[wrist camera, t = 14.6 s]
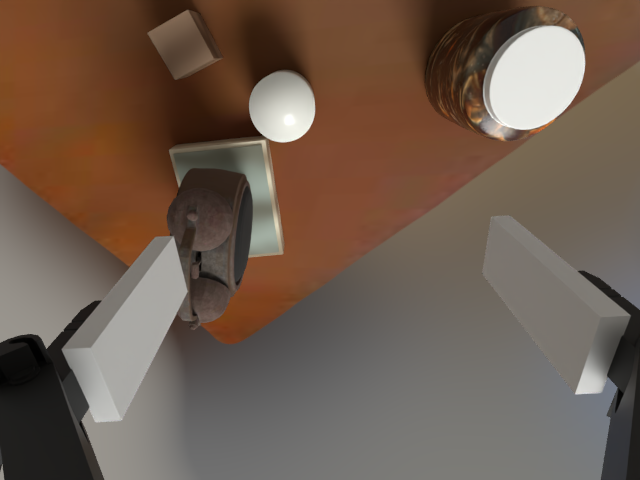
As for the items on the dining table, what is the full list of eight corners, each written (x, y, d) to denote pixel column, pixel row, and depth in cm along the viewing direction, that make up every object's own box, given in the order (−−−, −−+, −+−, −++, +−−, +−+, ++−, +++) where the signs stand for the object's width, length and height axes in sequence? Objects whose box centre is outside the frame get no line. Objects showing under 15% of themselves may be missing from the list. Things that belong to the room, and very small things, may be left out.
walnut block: (163, 34, 44) (147, 32, 40) (200, 13, 43) (187, 9, 39) (187, 76, 46) (174, 79, 42) (223, 57, 46) (213, 58, 41)
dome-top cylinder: (253, 72, 46) (243, 76, 39) (311, 66, 46) (311, 69, 39) (263, 131, 49) (255, 145, 42) (317, 125, 49) (318, 138, 42)
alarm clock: (256, 257, 54) (229, 360, 36) (204, 252, 53) (149, 354, 35) (262, 155, 47) (232, 218, 29) (202, 148, 47) (135, 208, 29)
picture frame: (176, 144, 50) (168, 150, 47) (267, 135, 50) (264, 140, 47) (204, 252, 57) (198, 263, 54) (284, 244, 57) (283, 255, 54)
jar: (523, 105, 49) (604, 126, 35) (432, 133, 50) (477, 163, 37) (517, 1, 44) (609, -21, 30) (416, 35, 45) (461, 28, 31)
